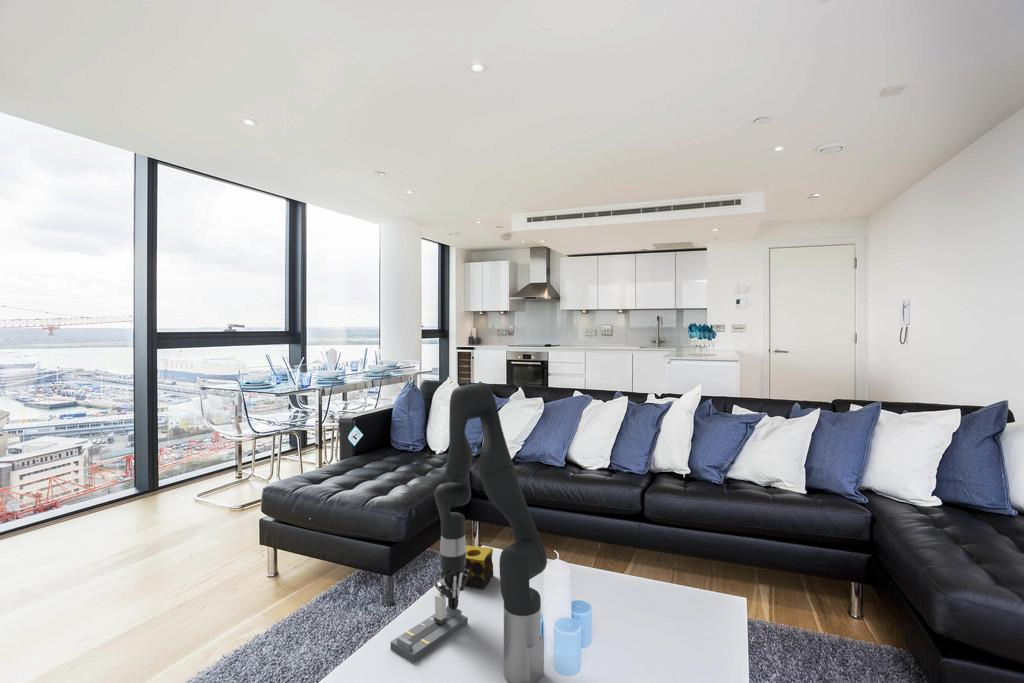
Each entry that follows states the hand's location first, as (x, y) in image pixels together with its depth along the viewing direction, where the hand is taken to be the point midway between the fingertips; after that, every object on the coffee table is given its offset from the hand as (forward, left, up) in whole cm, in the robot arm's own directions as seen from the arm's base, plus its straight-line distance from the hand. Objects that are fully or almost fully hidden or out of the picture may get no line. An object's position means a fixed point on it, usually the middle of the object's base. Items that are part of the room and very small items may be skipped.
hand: (453, 607), depth 149 cm
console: (0, +9, -4) cm, 10 cm away
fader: (0, +5, -2) cm, 5 cm away
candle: (+11, -22, -4) cm, 25 cm away
